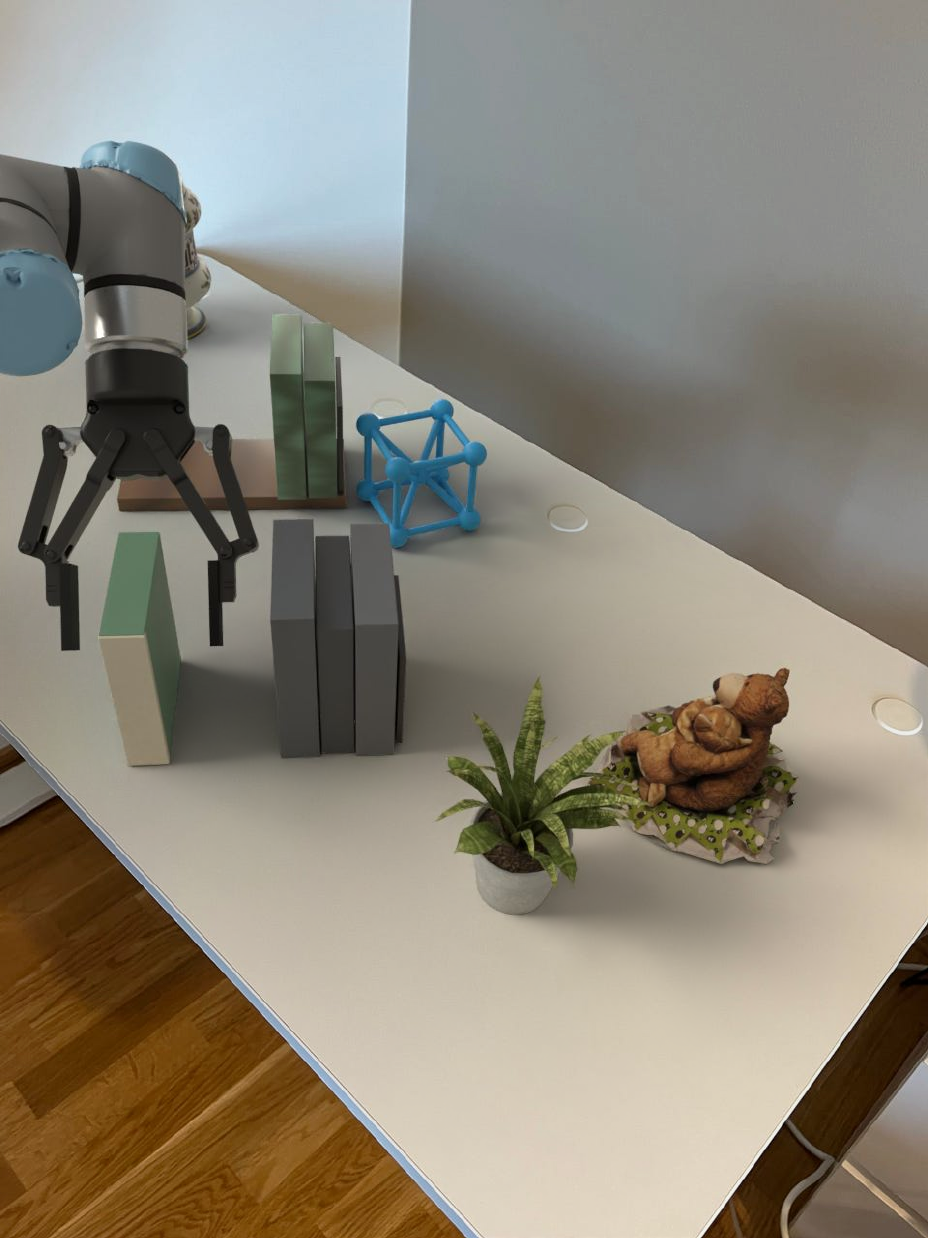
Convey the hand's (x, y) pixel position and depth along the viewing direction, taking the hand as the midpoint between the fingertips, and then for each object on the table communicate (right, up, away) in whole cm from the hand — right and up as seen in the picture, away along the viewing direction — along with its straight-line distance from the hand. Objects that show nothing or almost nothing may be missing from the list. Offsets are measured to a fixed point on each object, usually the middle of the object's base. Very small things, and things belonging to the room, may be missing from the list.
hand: (144, 648), depth 81 cm
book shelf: (+1, +16, +28) cm, 32 cm away
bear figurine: (+42, -11, +3) cm, 44 cm away
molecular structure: (+20, +13, +26) cm, 35 cm away
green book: (0, -5, +5) cm, 7 cm away
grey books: (+14, -5, +7) cm, 17 cm away
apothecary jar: (-12, +38, +49) cm, 64 cm away
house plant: (+27, -18, -5) cm, 33 cm away
